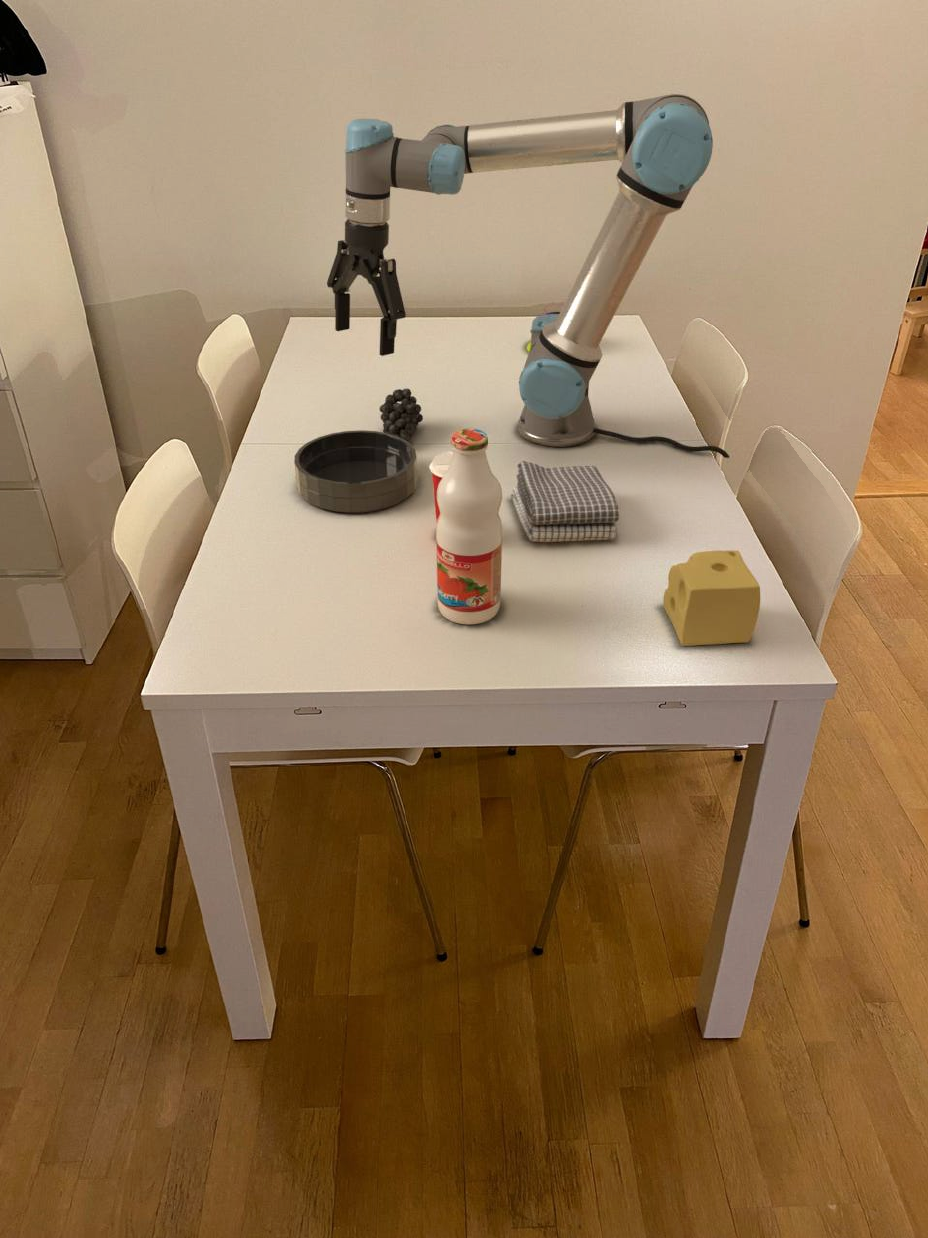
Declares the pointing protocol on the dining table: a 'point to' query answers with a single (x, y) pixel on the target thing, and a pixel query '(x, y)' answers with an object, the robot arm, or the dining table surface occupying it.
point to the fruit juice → (469, 533)
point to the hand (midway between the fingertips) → (364, 341)
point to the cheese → (712, 599)
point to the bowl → (356, 471)
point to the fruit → (400, 414)
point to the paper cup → (439, 473)
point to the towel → (564, 503)
